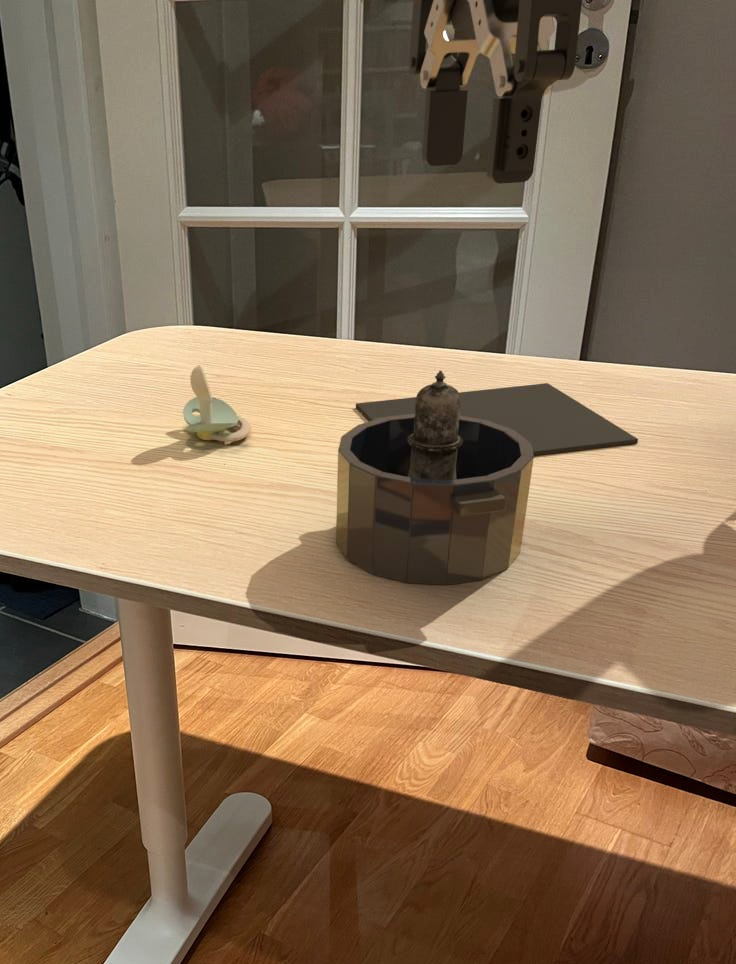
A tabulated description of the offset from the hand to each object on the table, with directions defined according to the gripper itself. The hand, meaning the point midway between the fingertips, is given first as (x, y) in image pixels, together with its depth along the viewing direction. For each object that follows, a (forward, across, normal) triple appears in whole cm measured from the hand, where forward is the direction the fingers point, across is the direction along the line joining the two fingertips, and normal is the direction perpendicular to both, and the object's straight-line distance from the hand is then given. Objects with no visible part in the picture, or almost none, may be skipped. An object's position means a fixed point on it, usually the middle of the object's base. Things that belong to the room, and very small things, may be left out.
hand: (472, 172), depth 51 cm
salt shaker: (+24, +3, 0) cm, 24 cm away
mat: (+24, +23, -14) cm, 36 cm away
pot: (+24, +3, 0) cm, 24 cm away
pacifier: (+24, +28, +10) cm, 38 cm away
